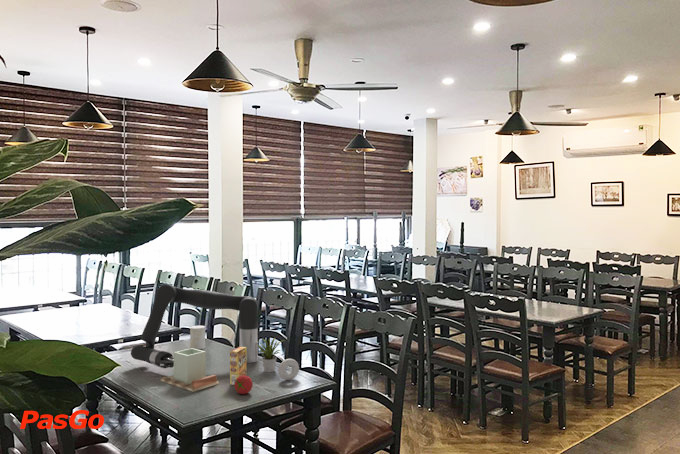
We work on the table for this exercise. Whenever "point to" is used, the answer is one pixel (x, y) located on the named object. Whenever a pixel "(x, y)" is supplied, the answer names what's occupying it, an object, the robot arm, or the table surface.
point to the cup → (197, 337)
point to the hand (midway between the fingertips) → (183, 365)
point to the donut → (293, 372)
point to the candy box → (238, 363)
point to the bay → (193, 382)
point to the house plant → (269, 355)
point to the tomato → (243, 384)
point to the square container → (189, 365)
